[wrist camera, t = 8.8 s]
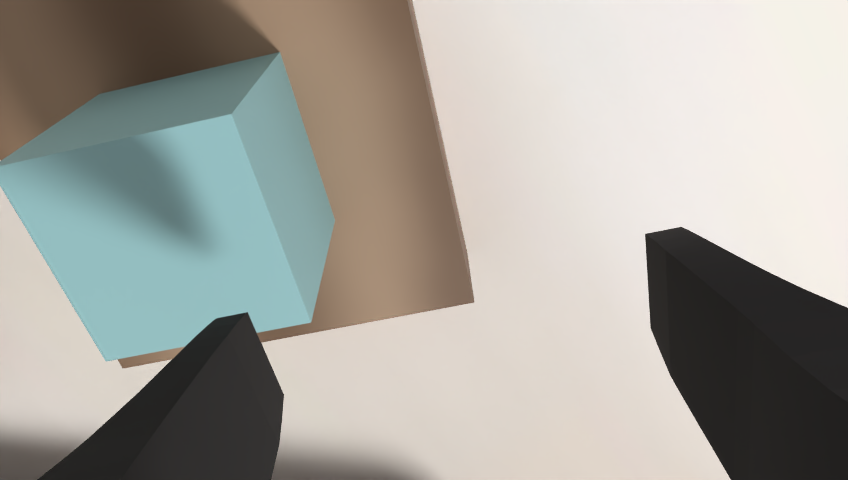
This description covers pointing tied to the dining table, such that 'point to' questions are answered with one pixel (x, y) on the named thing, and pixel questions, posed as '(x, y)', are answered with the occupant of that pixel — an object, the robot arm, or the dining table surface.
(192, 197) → the teal cube
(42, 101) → the walnut base
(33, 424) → the dining table surface
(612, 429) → the dining table surface
